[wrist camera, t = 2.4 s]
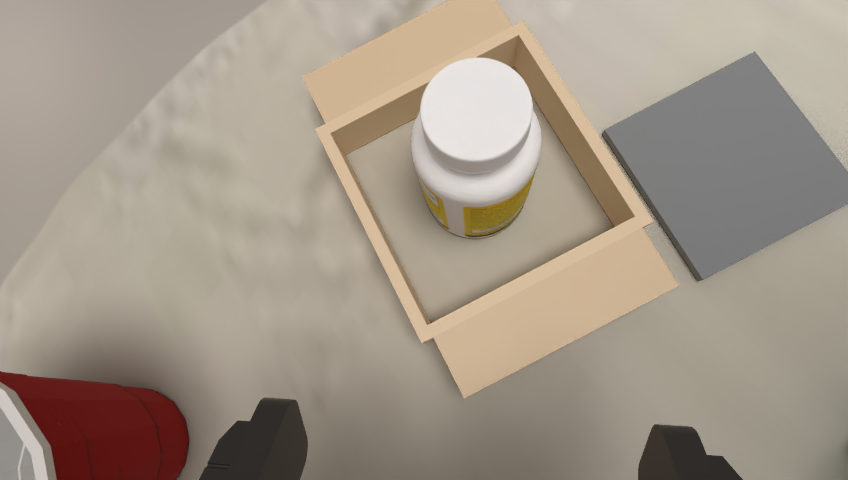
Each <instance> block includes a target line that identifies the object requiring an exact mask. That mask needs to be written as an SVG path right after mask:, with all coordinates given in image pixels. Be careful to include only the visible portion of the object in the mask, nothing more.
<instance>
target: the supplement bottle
mask: <svg viewBox="0 0 848 480" xmlns="http://www.w3.org/2000/svg"><path fill="white" fill-rule="evenodd" d="M541 147H542V135H541V128H540V124H539V121H538V118H537V116H536V114H535V112H534V110H533V102H532V97H531V93H530V91H529V88H528V86H527V84H526V83H525V81H524V80H523V78H522V77H521V76H520V75H519V74H518V73H517V72H516V71H515V70H513V69H512V68H511V67H509V66H508V65H506V64H504V63H502V62H499V61H496V60H493V59H489V58H477V57H476V58H467V59H463V60H459V61H456V62H454V63H451V64H450V65H448V66H446V67H444V68H443V69H442V70H440V71H439V72H438V73H437V74H436V75H435V76H434V77H433V78H432V80H431V81H430V82H429V84H428V85H427V87H426V89H425V91H424V93H423V96H422V99H421V105H420V112H419V114H418V116H417V118H416V120H415V123H414V126H413V130H412V134H411V154H412V160H413V164H414V167H415V170H416V173H417V175H418V179H419V181H420V185H421V187H422V190H423V193H424V196H425V199H426V202H427V205H428V207H429V209H430V211H431V213H432V215H433V216H434V218H435V219H436V220H437V222H438V223H439V224H440V225H441V226H443V227H444V228H445V229H446V230H448V231H450V232H451V233H453V234H456V235H458V236H461V237H466V238H484V237H489V236H492V235H495V234H497V233H499V232H501V231H503V230H504V229H506V228H507V227H508V226H509V225H510V224H512V223H513V221H514V220H515V219H516V218H517V216H518V215H519V213H520V211H521V210H522V208H523V205H524V203H525V200H526V197H527V195H528V192H529V189H530V186H531V183H532V180H533V177H534V174H535V171H536V168H537V165H538V162H539V158H540V153H541Z"/></svg>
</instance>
